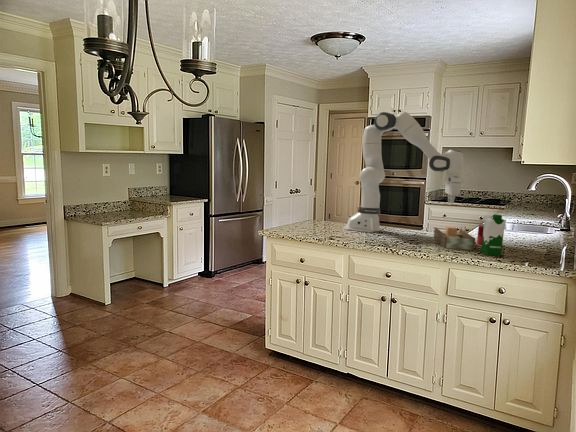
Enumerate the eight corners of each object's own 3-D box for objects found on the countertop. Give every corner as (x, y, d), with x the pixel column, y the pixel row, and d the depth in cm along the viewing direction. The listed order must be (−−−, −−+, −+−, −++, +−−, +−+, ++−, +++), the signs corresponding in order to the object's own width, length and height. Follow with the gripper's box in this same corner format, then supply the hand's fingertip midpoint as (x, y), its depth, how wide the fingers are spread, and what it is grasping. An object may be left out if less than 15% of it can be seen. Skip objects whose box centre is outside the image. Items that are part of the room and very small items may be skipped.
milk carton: (486, 255, 213) (491, 215, 210) (477, 251, 222) (482, 212, 218) (503, 256, 213) (508, 216, 210) (494, 252, 222) (499, 213, 219)
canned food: (483, 246, 235) (485, 226, 234) (473, 243, 243) (475, 223, 241) (495, 246, 237) (497, 226, 236) (484, 242, 245) (487, 223, 243)
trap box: (444, 247, 227) (445, 236, 226) (433, 237, 254) (434, 227, 253) (474, 249, 225) (475, 238, 224) (460, 239, 252) (461, 229, 251)
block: (447, 234, 242) (448, 227, 242) (445, 233, 247) (446, 226, 246) (456, 235, 242) (457, 228, 241) (454, 233, 246) (455, 226, 246)
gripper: (443, 177, 258) (441, 200, 260) (451, 179, 238) (449, 204, 240) (454, 177, 257) (452, 200, 259) (463, 179, 237) (460, 204, 239)
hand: (450, 202), depth 250 cm, fingers open, 4 cm apart
